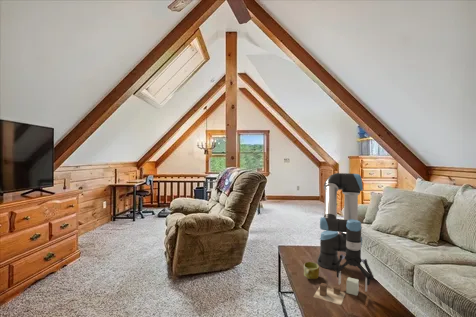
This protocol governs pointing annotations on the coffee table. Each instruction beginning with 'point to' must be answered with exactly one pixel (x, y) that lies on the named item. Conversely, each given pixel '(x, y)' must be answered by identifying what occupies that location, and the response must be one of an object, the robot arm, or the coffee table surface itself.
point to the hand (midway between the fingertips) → (352, 287)
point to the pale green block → (352, 286)
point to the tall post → (323, 289)
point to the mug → (311, 270)
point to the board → (332, 295)
